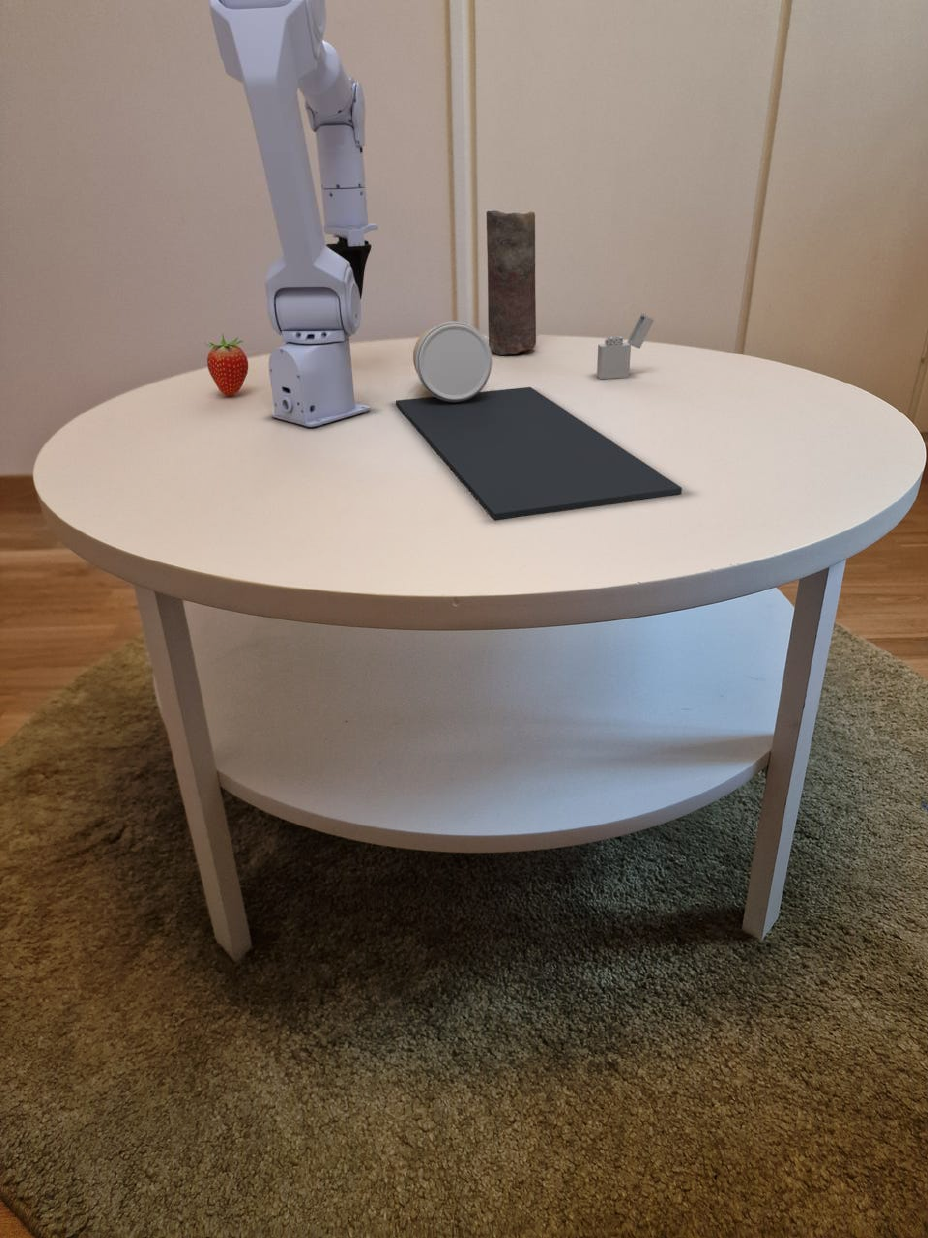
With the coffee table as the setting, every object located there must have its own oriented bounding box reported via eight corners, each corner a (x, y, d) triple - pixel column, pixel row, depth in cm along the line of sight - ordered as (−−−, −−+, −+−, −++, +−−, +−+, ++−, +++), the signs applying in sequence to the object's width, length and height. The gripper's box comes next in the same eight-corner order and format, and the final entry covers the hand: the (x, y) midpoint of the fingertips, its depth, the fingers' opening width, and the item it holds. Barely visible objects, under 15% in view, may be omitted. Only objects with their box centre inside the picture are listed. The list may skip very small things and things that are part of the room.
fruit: (219, 390, 116) (209, 329, 112) (256, 390, 116) (247, 329, 112) (207, 401, 111) (196, 338, 107) (246, 400, 111) (236, 337, 107)
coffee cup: (468, 398, 116) (485, 408, 105) (401, 386, 114) (410, 395, 103) (482, 327, 113) (500, 330, 102) (412, 313, 111) (423, 314, 100)
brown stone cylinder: (484, 347, 136) (482, 208, 126) (529, 344, 137) (530, 206, 127) (494, 357, 130) (492, 212, 120) (540, 354, 131) (543, 209, 121)
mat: (681, 493, 78) (682, 487, 77) (494, 520, 74) (494, 513, 73) (530, 391, 111) (530, 386, 111) (395, 405, 107) (395, 400, 107)
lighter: (600, 379, 116) (603, 317, 112) (596, 376, 117) (599, 315, 113) (650, 375, 117) (654, 314, 113) (645, 372, 118) (650, 312, 114)
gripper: (384, 188, 105) (392, 304, 111) (364, 184, 117) (372, 289, 123) (327, 190, 103) (338, 308, 110) (312, 186, 115) (323, 293, 122)
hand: (352, 299), depth 116 cm, fingers closed
